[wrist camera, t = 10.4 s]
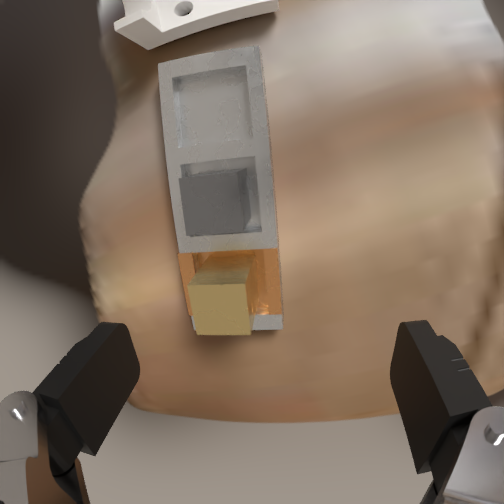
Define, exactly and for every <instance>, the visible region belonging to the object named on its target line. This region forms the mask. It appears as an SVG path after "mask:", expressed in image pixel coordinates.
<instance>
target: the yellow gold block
mask: <svg viewBox="0 0 504 504" xmlns="http://www.w3.org/2000/svg"><path fill="white" fill-rule="evenodd" d="M187 287H188V293H189V298H190V303H191V308H192V313H193V318H194V323H195V328H196V333H197V335H251V332H252V328H253V323H254V319H255V314H256V310H257V305H258V300H259V294H258V284H257V274H256V263H255V255H245V256H226V257H208V258H207V259H206V261H205V262H204V263H203V265H202V266H201V267H200V269H199V270H198V271H197V273H196V274H195V275H194V277H193V278H192V280H191V281H190V282H189V284H188V285H187Z"/></svg>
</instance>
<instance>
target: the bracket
mask: <svg viewBox="0 0 504 504" xmlns="http://www.w3.org/2000/svg"><path fill="white" fill-rule="evenodd" d="M122 2H123V5H124V9H125V17H123V18H121V19H119V20H117V21H116V22H114V28H115V31H116V32H118V33H120V34H121V35H123V36H125V37H127V38H128V39H130V40H132V41H133V42H135V43H137V44H139V45H140V46H142V47H144V48H145V49H147V50H150V49H153V48H155V47H158V46H160V45H163V44H165V43H168V42H170V41H173V40H176V39H178V38H181V37H184V36H187V35H190V34H193V33H196V32H199V31H202V30H205V29H208V28H211V27H214V26H218V25H221V24H225V23H228V22H232V21H236V20H240V19H244V18H248V17H252V16H256V15H261V14H265V13H270V12H275V11H279V3H278V0H122ZM189 12H190V13H189ZM187 13H189V14H188V15H186V14H187ZM185 15H186V16H185Z"/></svg>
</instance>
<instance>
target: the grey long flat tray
mask: <svg viewBox="0 0 504 504" xmlns="http://www.w3.org/2000/svg"><path fill="white" fill-rule="evenodd" d="M158 73H159V88H160V102H161V114H162V125H163V135H164V145H165V154H166V163H167V171H168V179H169V187H170V194H171V202H172V209H173V216H174V222H175V229H176V235H177V242H178V248H179V253H177V254H178V260H179V265H180V271H181V276H182V282H183V287H184V292H185V298H186V303H187V308H188V313H189V315H191V318H192V323H193V328H194V330H196V328H195V323H194V318H193V313H192V308H191V303H190V298H189V293H188V287H187V285H188V284H189V282H190V281H191V280H192V278H193V277H194V275H195V274H196V273H197V271H198V270H199V269H200V267H201V266H202V265H203V263H204V262H205V261H206V259H207V258H208V257H226V256H245V255H255V263H256V274H257V284H258V294H259V300H258V305H257V310H256V314H255V319H254V323H253V328H252V330H277V329H283V319H284V314H283V297H282V281H281V266H280V251H279V237H278V224H277V211H276V198H275V186H274V174H273V163H272V152H271V141H270V130H269V120H268V110H267V100H266V91H265V81H264V72H263V63H262V54H261V51H260V48H259V45H258V46H249V47H241V48H234V49H227V50H221V51H215V52H209V53H204V54H198V55H193V56H189V57H184V58H179V59H175V60H171V61H166V62H162V63H159V64H158ZM242 168H247V179H248V189H249V199H250V210H251V219H250V221H249V223H248V225H247V226H246V228H245V230H244V232H236V233H220V234H205V235H191V236H186V230H185V223H184V216H183V209H182V202H181V194H180V186H179V178H182V177H186V176H189V175H193V174H196V173H204V172H212V171H222V170H231V169H242Z"/></svg>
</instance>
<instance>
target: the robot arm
mask: <svg viewBox="0 0 504 504" xmlns="http://www.w3.org/2000/svg"><path fill="white" fill-rule="evenodd" d="M139 375H140V365H139V361H138V358H137V355H136V352H135V349H134V346H133V343H132V340H131V337H130V333H129V330H128V328H127V326H126V325H125V324H122V323H110V322H101V323H100V324H99V325H98V326H97V327H96V328H95V329H94V330H93V331H92V332H91V334H89V336H88V337H86V338H84V339H83V340H81V341H80V342H78V343H76V344H75V345H74V346H73V347H72V349H71V350H70V351H69V352H68V353H67V356H64V357H63V359H62V360H61V361H60V364H57V365H56V366H55V367H54V369H53V370H52V371H51V372H50V373H49V374H48V375H47V377H46V378H45V379H44V380H43V381H42V382H41V384H40V385H39V386H38V387H37V388H36V389H35V391H34V392H33V393H31V392H28V391H18V392H14V393H12V394H10V395H8V396H7V397H5V398H4V399H3V400H2V401H1V403H0V504H90V501H89V497H88V493H87V489H86V485H85V481H84V476H83V472H82V467H81V463H80V461H79V459H78V458H77V456H78V454H79V453H80V451H81V452H84V453H87V454H90V455H93V456H96V454H97V452H98V450H99V448H100V446H101V445H102V443H103V441H104V439H105V438H106V436H107V434H108V432H109V430H110V429H111V427H112V425H113V423H114V422H115V420H116V418H117V416H118V414H119V413H120V411H121V409H122V408H123V406H124V404H125V402H126V401H127V399H128V397H129V395H130V394H131V392H132V390H133V389H134V387H135V385H136V383H137V382H138V379H139ZM390 380H391V385H392V389H393V392H394V395H395V398H396V401H397V404H398V407H399V411H400V414H401V417H402V420H403V424H404V427H405V431H406V434H407V438H408V441H409V445H410V449H411V452H412V456H413V459H414V464H415V468H416V472H417V474H420V473H425V472H429V471H431V472H432V475H433V481H432V482H431V484H430V485H429V487H428V489H427V491H426V493H425V495H424V497H423V499H422V501H421V502H420V504H504V408H502V407H493V406H492V404H491V402H490V401H489V399H488V397H487V395H486V394H485V392H484V390H483V388H482V387H481V385H480V383H479V382H478V380H477V378H476V377H475V375H474V373H473V372H472V370H471V369H469V365H468V364H467V362H466V360H465V359H464V360H463V356H462V354H461V353H460V351H459V350H458V348H457V346H456V345H455V344H454V343H452V342H451V341H450V340H448V339H447V338H446V337H444V336H443V335H441V336H437V335H436V333H435V332H434V330H433V329H432V327H431V326H430V324H429V323H428V321H427V320H420V321H410V322H402V323H400V325H399V328H398V332H397V337H396V343H395V347H394V352H393V357H392V361H391V367H390Z"/></svg>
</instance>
